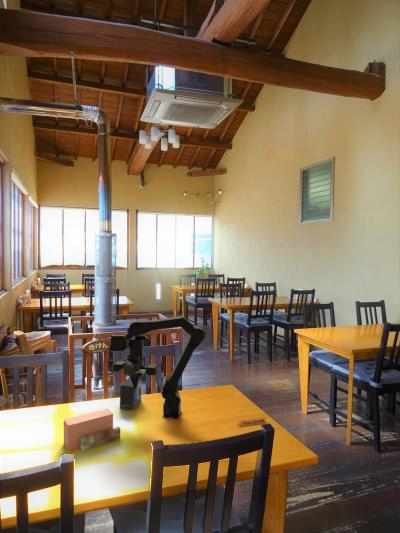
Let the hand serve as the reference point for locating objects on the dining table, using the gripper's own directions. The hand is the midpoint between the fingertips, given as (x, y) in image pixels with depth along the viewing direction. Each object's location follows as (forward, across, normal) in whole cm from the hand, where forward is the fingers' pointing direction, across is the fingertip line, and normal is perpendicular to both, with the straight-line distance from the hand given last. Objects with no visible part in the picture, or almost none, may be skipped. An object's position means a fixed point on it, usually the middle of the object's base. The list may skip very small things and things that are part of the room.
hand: (135, 388), depth 150 cm
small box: (+12, -7, +11) cm, 18 cm away
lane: (+12, -7, -19) cm, 24 cm away
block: (+12, -9, -22) cm, 26 cm away
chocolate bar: (+13, +47, +8) cm, 49 cm away
